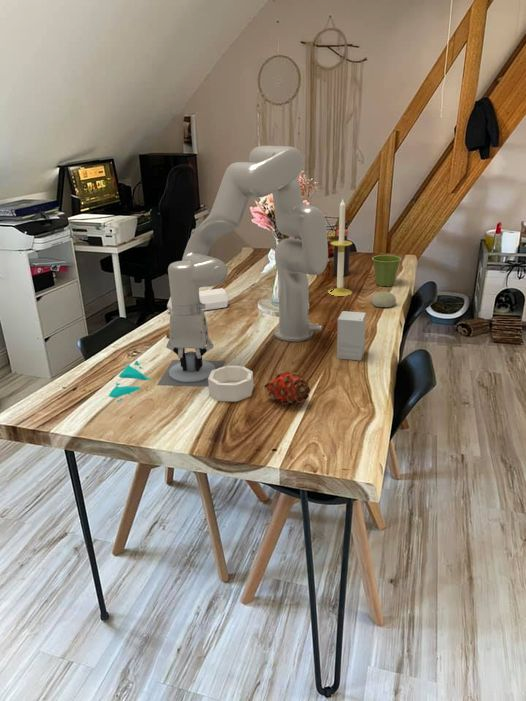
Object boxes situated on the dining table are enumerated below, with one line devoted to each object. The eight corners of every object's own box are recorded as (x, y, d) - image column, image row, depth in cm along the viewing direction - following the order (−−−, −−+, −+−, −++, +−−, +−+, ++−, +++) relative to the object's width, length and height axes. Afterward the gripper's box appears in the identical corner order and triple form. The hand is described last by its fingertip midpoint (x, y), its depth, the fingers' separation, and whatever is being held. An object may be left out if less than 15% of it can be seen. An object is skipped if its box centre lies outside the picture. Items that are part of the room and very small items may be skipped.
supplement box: (364, 351, 158) (367, 312, 153) (360, 361, 151) (363, 321, 146) (340, 348, 160) (342, 310, 155) (335, 358, 154) (337, 318, 148)
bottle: (333, 272, 237) (334, 228, 229) (348, 272, 236) (350, 228, 228) (333, 277, 231) (334, 231, 223) (348, 277, 230) (350, 231, 222)
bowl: (255, 382, 141) (254, 366, 139) (249, 403, 131) (248, 385, 129) (215, 381, 142) (214, 365, 140) (206, 401, 132) (205, 384, 130)
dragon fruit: (312, 412, 129) (268, 410, 134) (317, 382, 133) (274, 381, 138) (302, 397, 122) (256, 396, 127) (308, 366, 127) (263, 366, 131)
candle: (357, 293, 209) (361, 197, 194) (338, 298, 204) (341, 200, 188) (340, 287, 217) (343, 194, 201) (322, 292, 211) (324, 197, 196)
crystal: (169, 308, 188) (233, 299, 195) (165, 294, 191) (227, 286, 199) (169, 321, 193) (231, 312, 201) (165, 307, 197) (226, 299, 205)
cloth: (133, 410, 131) (132, 402, 130) (84, 406, 134) (83, 398, 133) (171, 365, 154) (170, 358, 153) (128, 362, 157) (127, 356, 156)
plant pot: (402, 282, 220) (405, 256, 216) (393, 290, 211) (395, 263, 207) (376, 278, 226) (378, 253, 222) (366, 286, 217) (367, 259, 213)
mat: (225, 362, 154) (225, 360, 153) (214, 387, 139) (214, 386, 139) (172, 360, 155) (172, 359, 155) (156, 386, 141) (156, 384, 141)
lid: (219, 362, 152) (217, 344, 150) (210, 383, 141) (208, 364, 138) (176, 362, 154) (174, 344, 151) (163, 382, 142) (161, 363, 140)
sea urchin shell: (368, 303, 192) (372, 284, 194) (370, 312, 199) (374, 294, 201) (393, 305, 189) (396, 286, 191) (394, 315, 196) (398, 296, 198)
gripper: (218, 303, 142) (223, 364, 149) (160, 302, 144) (167, 362, 151) (213, 312, 135) (218, 375, 142) (152, 312, 137) (160, 374, 144)
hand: (192, 368), depth 147 cm, fingers closed on lid, 3 cm apart
